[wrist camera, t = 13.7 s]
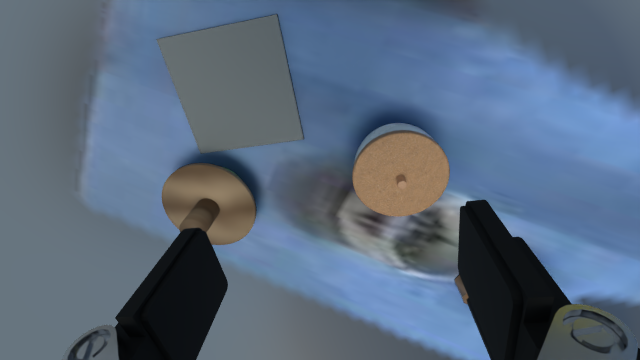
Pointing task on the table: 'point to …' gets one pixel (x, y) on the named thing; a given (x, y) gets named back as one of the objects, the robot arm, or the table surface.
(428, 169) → the lidded jar
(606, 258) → the table surface
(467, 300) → the whiskey bottle
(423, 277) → the table surface
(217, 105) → the slate mat
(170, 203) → the walnut lid
